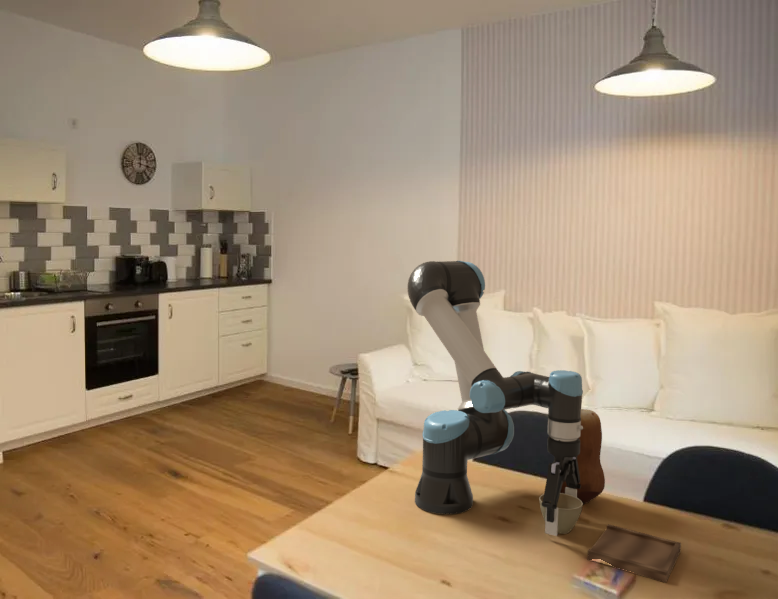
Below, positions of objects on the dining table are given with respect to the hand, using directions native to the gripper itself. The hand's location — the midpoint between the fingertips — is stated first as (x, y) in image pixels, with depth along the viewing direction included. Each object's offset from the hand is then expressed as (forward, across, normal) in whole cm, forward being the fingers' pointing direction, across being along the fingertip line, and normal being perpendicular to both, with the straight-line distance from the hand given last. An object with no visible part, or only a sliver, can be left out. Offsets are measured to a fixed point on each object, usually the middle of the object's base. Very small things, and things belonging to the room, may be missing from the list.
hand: (561, 523), depth 154 cm
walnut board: (+2, -3, -18) cm, 18 cm away
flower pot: (+2, 0, 0) cm, 2 cm away
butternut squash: (+2, +19, +2) cm, 19 cm away
